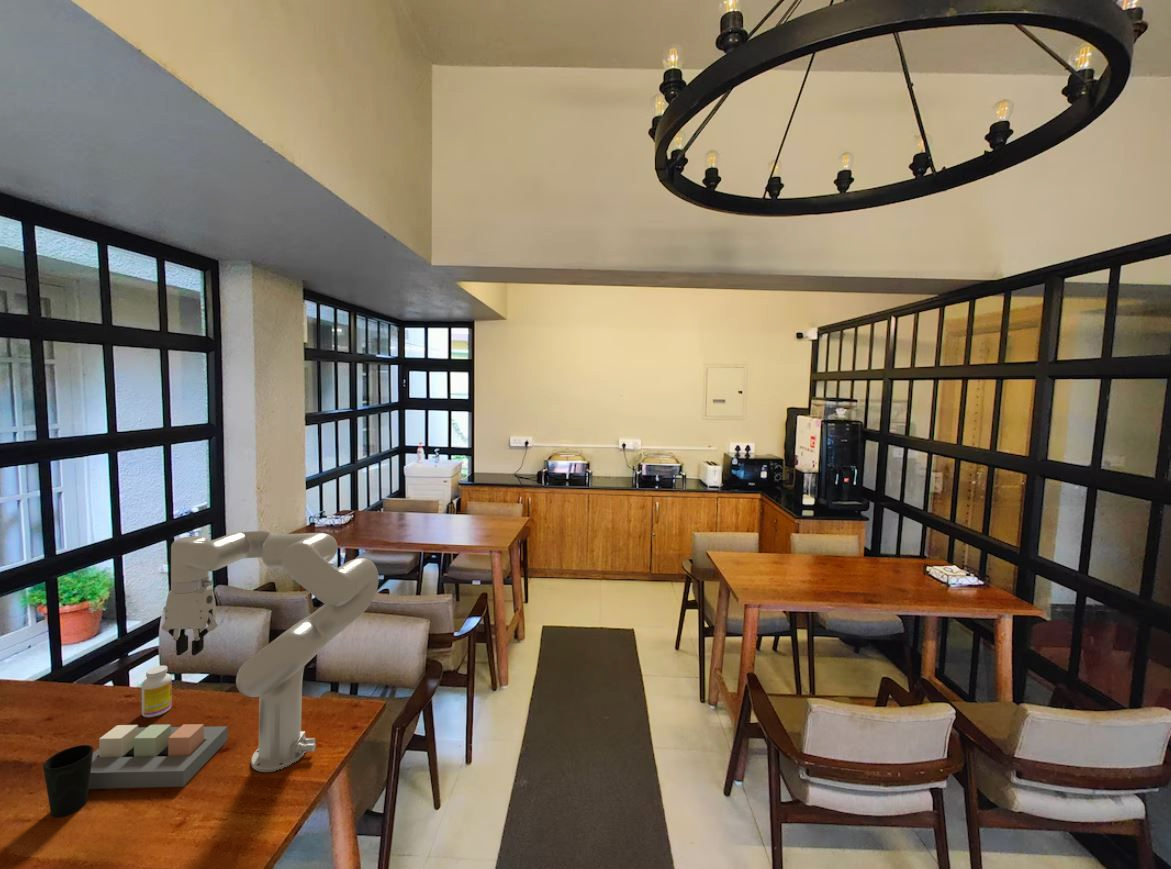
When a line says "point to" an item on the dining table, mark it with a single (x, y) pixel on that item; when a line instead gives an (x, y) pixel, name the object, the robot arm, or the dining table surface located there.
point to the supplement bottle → (156, 692)
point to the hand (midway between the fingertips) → (189, 652)
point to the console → (155, 765)
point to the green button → (152, 740)
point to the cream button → (118, 741)
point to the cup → (68, 779)
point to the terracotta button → (186, 740)
